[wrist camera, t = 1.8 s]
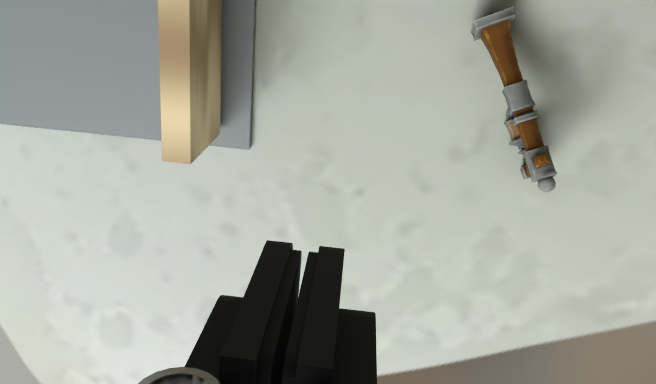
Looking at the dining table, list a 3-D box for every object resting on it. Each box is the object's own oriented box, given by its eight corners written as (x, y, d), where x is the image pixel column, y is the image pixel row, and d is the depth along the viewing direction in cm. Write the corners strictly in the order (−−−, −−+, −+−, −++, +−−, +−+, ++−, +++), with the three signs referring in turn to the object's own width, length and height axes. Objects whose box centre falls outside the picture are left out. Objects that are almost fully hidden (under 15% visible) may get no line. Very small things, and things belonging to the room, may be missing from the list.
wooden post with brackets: (517, 199, 27) (531, 197, 23) (468, 49, 28) (472, 19, 23) (554, 188, 27) (575, 184, 22) (503, 37, 28) (514, 4, 23)
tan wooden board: (186, -148, 23) (138, -181, 18) (233, -144, 23) (197, -176, 18) (188, 130, 27) (151, 161, 23) (227, 134, 27) (198, 166, 22)
